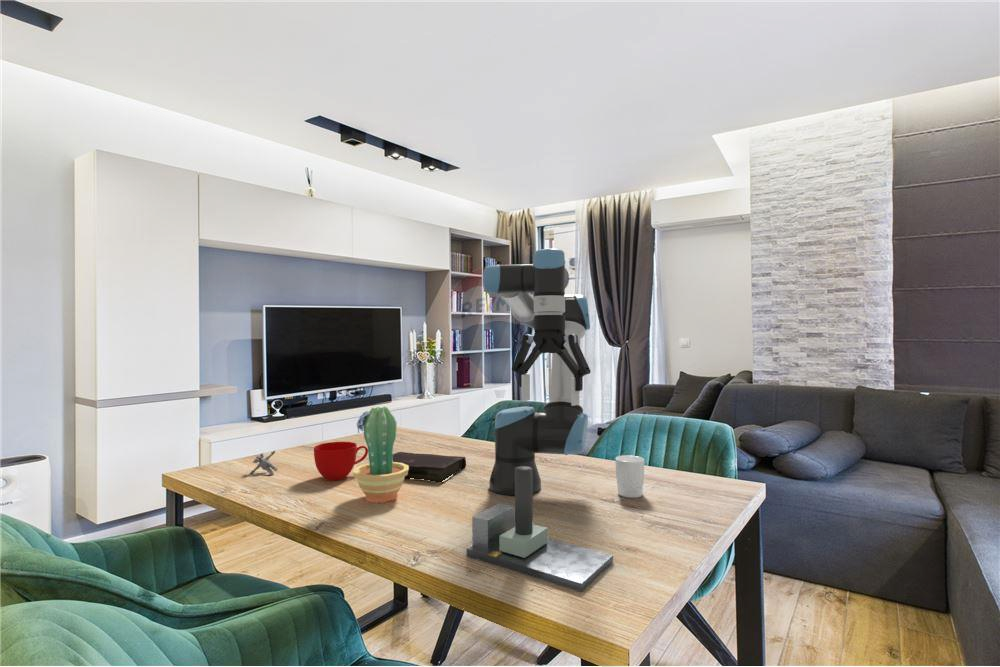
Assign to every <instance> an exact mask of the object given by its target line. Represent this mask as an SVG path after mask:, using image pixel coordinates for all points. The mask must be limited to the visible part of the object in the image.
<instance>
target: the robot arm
mask: <svg viewBox="0 0 1000 667" xmlns="http://www.w3.org/2000/svg"><path fill="white" fill-rule="evenodd" d="M565 257H566V256H565V252H564V250H562V249H559V248H543V249H537V250H536V251H534V253H533V262H532V263H527V264H524V263H523V264H521V263H520V264H494V265H493V264H492V265H487V266H485V267H484V269H483V272H482V273H483V274H482V284H483V289H484V292H485V293H486V294H489V295H491V294H493V295H500V297H501V298H502V299H503V300H504V301H505V303H506V304H507V305H508V307H509V308H510V312H511V315H512V317H513V318H514V319H515V320H516V321H517V322H518V323H520V324H521V325H524V326H526V327H528V328H530V329H533V330H534V334H528V333H527V334H522V343H521V345H520V348H519V349H518V353H517V355H516V358H515V360H514V363H513V365H512V367H511V371H512V372H515V373H517V374H518V385H519V388H521V402H528V401H531V375H530V373H529V371H530V369H531V368H532V366H533V365H534V364H535V362H536V361H537V359H538V358H539V357H540V355H542V354H552V356H551V366H550V367H551V368H550V369H551V370H550V372H551V373H550V384H549V398H548V399H549V400H548V402H547V403H545V404H544V406H543V411H542V412H539V411H538V412H536V409H535V407H534V406H518V407H517V406H516V407H511V408H505V409H502V410H500V411H498V412H497V413H496V415H495V419H494V420H495V422H494V449H495V450H494V451H495V452H494V454H495V455H494V457H495V458H494V460H495V461H494V465H493V468H492V470H491V474H490V477H489V483H488V484H489V489H490V490H491V491H492V492H494V493H496V494H501V495H507V496H515V468H516V467H521V466H526V467H531V468H532V494H534V493H537V492H539V491H540V490H541V489H542V479H541V477H540V472H539V470H538V467H537V463H536V454H548V455H549V454H551V455H564V456H568V455H579V454H581V453H583V451H584V448H585V445H586V441H587V433H588V424H589V422H588V421H589V419H588V417H589V416H588V414H587V413H585V412H584V408H583V407H582V405H580V392H581V391H583V384H584V383H583V382H584V381H583V380H584V379H583V377H584V376H587V375H589V374H591V368H590V366H589V363H588V362H587V360H586V358H585V356H584V353H583V350H582V349H581V339H582V338H583V337H584V336H585V335H586V331H589V330H590V328H591V321H590V314H589V304H588V298H587V297H586V296H585V295H584V294H574V293H573V294H566V291H565V290H566V288H567V287H568V285H569V281H570V274H569V272H568V270H567V268H566V258H565ZM533 343H535V345H534V347H533V348H532V350H531V352H530V351H529V350H530V348H531V346H532V344H533ZM529 352H530V354H529ZM528 354H529V355H528Z"/></svg>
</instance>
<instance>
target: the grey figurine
mask: <svg viewBox="0 0 1000 667" xmlns="http://www.w3.org/2000/svg"><path fill="white" fill-rule="evenodd" d="M275 453H276V450H273V451H271V453H270V454H269V455H268V456H266V457H265V455H264V453H260V454H259V455H257V456H256V457H255V459H254V460H253V461H252V464H257V463H258V464H257V466H256V467H255V468H254V469H253V470H251V471H250V473H249V475H252V474H254V473H255V472H256V471H257V470H258V469H259V468H261V469H262V470H263V471H266V472H268V474H269V475H270V476H273V475H274V474H275V473H274V472H278V470H279V469H278V467H276V466H275V465H273V464H272V462H271V461H270V460H269V459H270V458H271V457H273V455H275ZM264 457H265V458H264Z"/></svg>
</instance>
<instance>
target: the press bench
mask: <svg viewBox="0 0 1000 667" xmlns="http://www.w3.org/2000/svg"><path fill="white" fill-rule="evenodd" d="M471 520H472V521H471V522H472V523H471V526H472V527H471V528H472V529H471V530H472V531H471V532H472V539H471V540H472V545H471V546H469V547H467V548H466V549H465V550H466V551H465V552H466V557H468V558H471V559H475V560H479V561H481V562H484V563H487V562H488V564H490V563H491V564H492V565H494V566H498V567H501V568H504V569H506V568H507V570H511V571H513V572H517V573H520V574H523V575H525V576H529V577H533V578H536V579H537V580H541V579H542V581H545V582H549V583H551V584H554V585H557V586H562V587H564V588H568V589H571V590H574V591H577V592H580V593H583V592H584V591H585V590H586V589H587V588H588V587H589V586H591V584H593V582H594V581H595V580H597V579H598V577H600V576H601V575H602V574H603V573H604V572H605V571H606V570H607V569H609V567H610V566H611V565H612V564H614V555H613V554H610V553H606V552H603V551H599V550H596V549H591V548H587V547H584V546H579V545H576V544H572V543H569V542H564V541H559V540H556V539H553V538H549V537H548V542H547V543H546V544H544V545H543V546H541V547H540V548H538V549H537V550H536V551H534V552H533V553H531V554H530V555H528V556H527V557H525V558H523V557H520V556H516V555H513V554H510V553H506V552H503V551H500V550H499V536H500V535H502V534H503V533H505V532H507V531H509V530H510V529H512V528H514V527H515V505H514V506H513V505H509V504H505V503H498V504H495V505H493V506H492V507H489V508H487V509H485V510H483V511H481V512H479V513H477V514H475V515H473V516H471ZM491 564H490V565H491Z"/></svg>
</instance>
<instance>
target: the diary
mask: <svg viewBox="0 0 1000 667" xmlns="http://www.w3.org/2000/svg"><path fill="white" fill-rule="evenodd" d="M393 462H398V463H403V464H406V465H408V466H409V470H408V475H406V476H405V478H404V480H409V479H410V478H414V479H424V480H430V481H435V482H434V483H439V482H442V481H443V480H445V479H446V478H448V477H449V476H451V475H452V474H453V475H455V474H456V473H458V472H459V471H460V470H459V469H461V470H462V469H463V468H465V469H466V467H467V459H466V457H465V456H455V455H454V456H451V455H439V454H433V453H432V454H431V453H415V452H414V453H413V452H405V451H397V452H395V453H393ZM458 470H459V471H458ZM457 471H458V472H457ZM455 472H456V473H455ZM454 473H455V474H454ZM430 481H429V482H430Z"/></svg>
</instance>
